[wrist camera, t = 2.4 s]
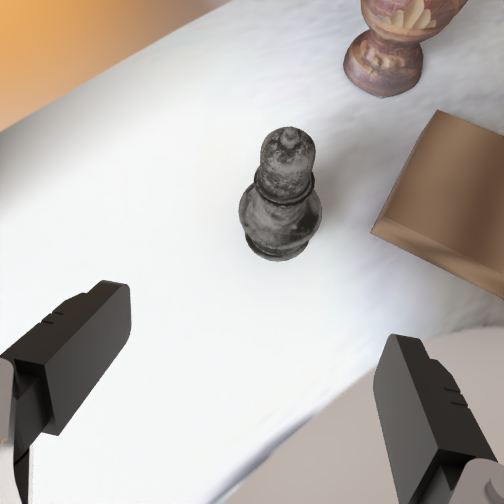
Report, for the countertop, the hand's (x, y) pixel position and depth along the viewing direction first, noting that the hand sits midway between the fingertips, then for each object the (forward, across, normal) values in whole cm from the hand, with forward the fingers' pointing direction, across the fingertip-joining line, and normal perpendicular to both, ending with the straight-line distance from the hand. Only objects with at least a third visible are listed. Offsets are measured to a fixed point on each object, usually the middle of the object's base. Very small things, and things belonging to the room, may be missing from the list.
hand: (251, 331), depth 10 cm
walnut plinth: (+20, -14, 0) cm, 25 cm away
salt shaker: (+17, 0, +3) cm, 18 cm away
